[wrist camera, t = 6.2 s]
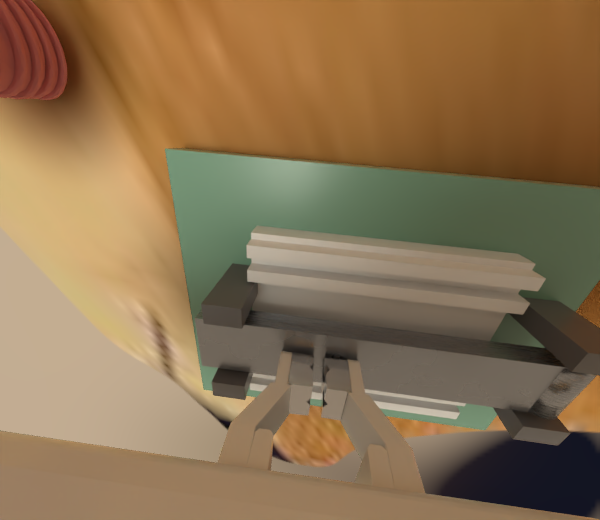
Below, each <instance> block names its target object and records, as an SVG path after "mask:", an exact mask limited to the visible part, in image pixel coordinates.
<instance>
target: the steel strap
mask: <svg viewBox="0 0 600 520" xmlns="http://www.w3.org/2000/svg"><path fill="white" fill-rule="evenodd" d="M195 324H196V330H197V337H198V343H199V349H200V356H201V362H202V366H208V367H215V368H222V369H229V370H236V371H242V372H249V373H256V374H263V375H270V376H276V374H277V369H278V364H279V359H280V354H281V351H286V352H292V353H293V352H294V353H301V354H307V355H314V365H313V372H314V373H313V382H319V383H321V378H322V371H323V369H324V360H325V357H332V358H341V359H348V360H357V361H359V362H360V367H361V373H362V378H363V384H364V389H368V390H375V391H382V392H389V393H396V394H403V395H410V396H417V397H424V398H431V399H438V400H445V401H452V402H459V403H466V404H473V405H480V406H487V407H494V408H501V409H508V410H515V411H522V412H529V413H532V414H534V415H536V416H538V417H540V418H543V419H546V420H554V419H556V418H557V416H558V415H559V414H560V413H561V412H562V411H563V410H564V409H565V408H566V407H567V406H568V405H569V404H570V403H571V402H572V401H573V400H574V399H575V398H576V397H577V396H578V395H579V394H580V392H581V391H582V390H583V389H584V388H585V387H586V386H587V385H588V384H589V383H590V382H591V381H592V380H593V379H594V378H595V377H596V375H592V374H585V373H577V372H571V371H570V370H569V369H568V368H567V367H566V366H565V365H564V364H563V363H562V362H560V361H559V360H558V359H557V358H556V357H555V356H554V355H553V354H552V353H551V352H550V351H549V350H547V349H546V348H545V347H544V348H540V347H532V346H525V345H517V344H509V343H501V342H494V341H486V340H478V339H470V338H462V337H455V336H447V335H439V334H431V333H424V332H416V331H408V330H400V329H393V328H385V327H377V326H369V325H362V324H354V323H346V322H338V321H330V320H323V319H315V318H307V317H299V316H292V315H284V314H276V313H268V312H261V311H253V310H250V312H249V315H248V317H247V319H246V321H245V323H244V326H243V328H242V329H240V328H232V327H224V326H217V325H209V324H204V323H203V315H202V309H201V311H200V312H199V313H198V315H197V316H196V317H195Z"/></svg>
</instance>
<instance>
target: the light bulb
mask: <svg viewBox="0 0 600 520" xmlns="http://www.w3.org/2000/svg"><path fill="white" fill-rule="evenodd" d="M66 83H67V64H66V60H65V56H64V52H63V48H62V46H61V43H60V41H59V39H58V37H57V35H56V33H55V31H54V29H53V27H52V26H51V24H50V23H49V21H48V20H47V18H46V17H45V15H44V14H43V13H42V11H41V10H40V9H39V8H38V7H37V6H36V5H35V4H34V3H33V2H32V1H31V0H0V97H3V98H7V97H9V98H13V99H28V98H36V99H41V100H51V99H56V98H58V97H59V96H60V95H61V94H62V93H63V91H64V89H65V86H66Z"/></svg>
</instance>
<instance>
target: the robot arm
mask: <svg viewBox="0 0 600 520" xmlns="http://www.w3.org/2000/svg"><path fill="white" fill-rule="evenodd" d="M313 365H314V355H307V354H301V353H294V352H293V353H292V352H286V351H281V354H280V359H279V364H278V369H277V374H276V379H275V383H274V382H271V383H270V384H269V385H268V386H267V387H266V388H265V389H264V390H263V391H262V392H261V393H260V394H259V395H258V396H257V397H256V398H255V399H254V400H253V401H252V402H251V403H250V404H249V405H248V406H247V407H246V408H245V409H244V410H243V411H242V412H241V413H240V414H239V415H238V416H237V417H236V418H235V419H234V420H233V421H232V422H231V424H230V427H229V430H228V433H227V437H226V439H225V442H224V445H223V448H222V451H221V454H220V457H219V460H218V463H215V462H209V461H202V460H195V459H187V458H181V457H174V456H168V455H161V454H154V453H148V452H141V451H133V450H127V449H120V448H114V447H107V446H99V445H93V444H86V443H80V442H73V441H66V440H59V439H53V438H46V437H39V436H33V435H26V434H19V433H12V432H6V431H0V520H600V519H595V518H587V517H581V516H574V515H567V514H560V513H554V512H546V511H540V510H533V509H526V508H520V507H513V506H506V505H499V504H493V503H486V502H478V501H472V500H465V499H458V498H451V497H445V496H438V495H432V494H425V491H424V487H423V484H422V481H421V477H420V474H419V471H418V467H417V464H416V461H415V457H414V454H413V450H412V448H411V447H410V446H409V445H408V443H407V442H406V441H405V440H404V438H403V437H402V436H401V435H400V433H399V432H398V431H397V430H396V428H395V427H394V426H393V425H392V423H391V422H390V421H389V420H388V418H387V417H386V416H385V415H384V413H383V412H382V411H381V410H380V408H379V407H378V406H377V405H376V403H375V402H374V401H373V400H372V398H371V397H370V396H369V395H365V389H364V384H363V378H362V373H361V367H360V362H359V361H357V360H348V359H341V358H332V357H325V360H324V369H323V371H322V378H321V393H322V398H321V417H323V418H329V419H335V420H341V423H342V425H343V427H344V429H345V430H346V432H347V434H348V436H349V438H350V440H351V442H352V443H353V445H354V447H355V449H356V451H357V453H358V455H359V456H360V458H361V460H362V463H361V465H360V468H359V471H358V473H357V476H356V478H355V481H354V483H351V482H344V481H337V480H331V479H324V478H317V477H310V476H303V475H297V474H290V473H283V472H276V471H271V463H272V448H273V436H274V434H275V433H276V432H277V430H278V429H279V427H280V426H281V425H282V423H283V422H284V420H285V419H286V418H287V416H288V415H289V413H291V414H300V415H308V414H309V408H310V399H311V396H312V389H313V373H314V372H313Z"/></svg>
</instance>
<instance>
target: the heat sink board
mask: <svg viewBox="0 0 600 520" xmlns="http://www.w3.org/2000/svg"><path fill="white" fill-rule="evenodd" d="M165 152H166V158H167V165H168V171H169V177H170V183H171V189H172V196H173V202H174V208H175V214H176V221H177V227H178V233H179V239H180V245H181V252H182V258H183V264H184V270H185V276H186V283H187V289H188V295H189V301H190V308H191V314H192V320H193V326H194V332H195V339H196V345H197V351H198V357H199V363H200V370H201V376H202V382H203V388H204V390H211V391H213V395H215V396H222V397H229V398H236V399H242V400H245V398H246V396H252V397H257V396H258V395H259V394H260V393H261V392H262V391H263V390H264V389H265V388H266V387H267V386H268V385H269V384H270V383H271V382H274V383H275V379H276V376H270V375H263V374H256V373H249V372H242V371H236V370H229V369H222V368H215V367H208V366H202V362H201V356H200V349H199V343H198V337H197V330H196V324H195V317H196V316H197V315H198V313H199V312H200V311H201V309H202V315H203V323H204V324H209V325H217V326H224V327H232V328H240V329H242V328H243V326H244V323H245V321H246V319H247V317H248V315H249V312H250V310H253V311H261V312H268V313H276V314H284V315H292V316H299V317H307V318H315V319H323V320H330V321H338V322H346V323H354V324H362V325H369V326H377V327H385V328H393V329H400V330H408V331H416V332H424V333H431V334H439V335H447V336H455V337H462V338H470V339H478V340H486V341H494V342H501V343H509V344H517V345H525V346H532V347H540V348H544V347H545V348H546V349H547V350H549V351H550V352H551V353H552V354H553V355H554V356H555V357H556V358H557V359H558V360H559V361H560V362H562V363H563V364H564V365H565V366H566V367H567V368H568V369H569V370H570V371H571V372H577V373H585V374H592V375H600V328H599V327H597V326H596V325H594V324H593V323H591V322H590V321H588V320H587V319H585V318H584V317H582V316H581V315H579V314H578V313H576V310H577V309H578V308H579V306H580V305H581V304H582V303H583V301H584V300H585V299H586V297H587V296H588V295H589V293H590V292H591V291H592V289H593V288H594V287H595V285H596V284H597V283H598V281H599V280H600V187H597V186H587V185H576V184H565V183H554V182H543V181H533V180H522V179H511V178H500V177H489V176H479V175H468V174H457V173H446V172H436V171H425V170H414V169H403V168H392V167H382V166H371V165H360V164H349V163H338V162H328V161H317V160H306V159H295V158H285V157H274V156H263V155H252V154H241V153H231V152H220V151H209V150H198V149H187V148H173V149H165ZM365 395H369V396H370V397H371V398H372V400H373V401H374V402H375V403H376V405H377V406H378V407H379V408H380V410H381V411H382V412H383V413H384V415H385V416H390V417H397V418H404V419H411V420H418V421H425V422H432V423H439V424H446V425H453V426H459V427H466V428H473V429H480V430H486V429H487V427H488V426H489V425H490V424H491V422H492V421H493V420H494V418H495V417H496V416H497V415H498V416H499V418H500V420H501V421H502V423H503V424H504V426H505V428H506V429H507V431H508V432H509V434H510V435H511V437H512V438H513V439H517V440H524V441H531V442H538V443H545V444H552V445H559V444H560V443H561V442H562V441H563V440H564V439H565V438H566V437H567V436H568V435H569V434H570V432H569V431H568V430H567V428H566V427H565V426H564V425H563V424H562V423H561V421H560V420H559V419H558V418H556V419H554V420H546V419H543V418H540V417H538V416H536V415H534V414H532V413H529V412H522V411H515V410H508V409H501V408H494V407H487V406H480V405H473V404H466V403H459V402H452V401H445V400H438V399H431V398H424V397H417V396H410V395H403V394H396V393H389V392H382V391H375V390H368V389H365ZM321 398H322V393H321V383H319V382H313V389H312V396H311V399H310V405H314V406H321Z"/></svg>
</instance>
